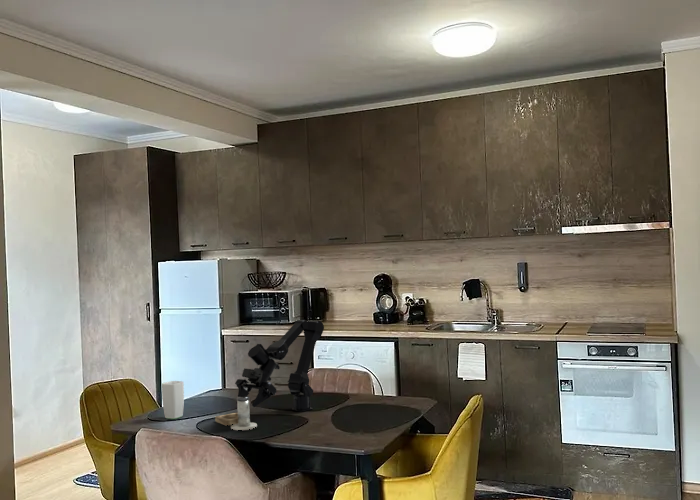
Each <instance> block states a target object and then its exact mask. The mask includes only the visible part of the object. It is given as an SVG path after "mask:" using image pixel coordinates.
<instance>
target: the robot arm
mask: <svg viewBox="0 0 700 500" xmlns="http://www.w3.org/2000/svg"><path fill="white" fill-rule="evenodd" d="M324 330H325V326H324V324H323V322H322V321H321V320H305V319H297V320H295V321H294V324H293V325H292V326H291V327H290V328H289V329H288V330H287V331H286V332H285V333H284V334H283V336H282V337H281V338H280V339H279V340H276V341H275V342H272V343H271V344H270V345H269V346H268V347H267V348H265V347H264V346H263V345H262V344H261V343H257V344H256V345H254V346H253V347H252V348H250V349H249V350H248V352H247V355H248V357H249V358H250V359H251V360H252V361H253V363H254V364H255V365H257V366H259V367H255V368H254V369H253V368H246V367H245V368H243V370H242V374H241V377H243V378H237V379H236V381H235V383H234V384H235V385H236V387H237V389H238V392H237V393H238V394H237V397H239V396H249V394H250V392H251V391H252V390H257V391H258V392H257V395H256V396H255V399H254V400H253V403H252V404H251V406H252V407H253V408H255V407H257V406H258V405H260V404H261V403H263V402H264V401H267V399H270V398H272V397H273V396H274V397H275V395H276V393H277V388H276V387H275V385H273V383H272V382H271V380H272V377H271V376H272V374H273V372H274V371H275V370H280V369H281V367H280V364H279V362H276V361H282V360H284V359H285V357H286V356H287V355H288V353H289V348H290V346H292V344H293V343H294V342H295V341H296V340H297V339H298V338H299V337H300V335H301V334H302V333H303V335H304V342H303V345H302V349H301V353H300V357H299V359H298V360H299V361H298V364H297V366H296V370H295V371H294V373H293V372H292V373H290V375H289V379H288V380H287V384H288V385H287V387H288V389H289V392H290V393H289V394H290V396H293V401H292V402H293V404H292V405H293V407H292V409H291V410H293V411H296V412H300V413H302V412H306V411H310V410H313V407H311V396H313V395H314V389H313V388H312V386H310V385H309V384H310V379H309V374H308V373H309V369H310V366H311V362H312V358H313V355H314V351H315V347H316V343H317V341H318V340H320V338H321V337H322V335H323V333H324ZM246 378H247V379H246ZM236 404H237V401H236Z"/></svg>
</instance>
